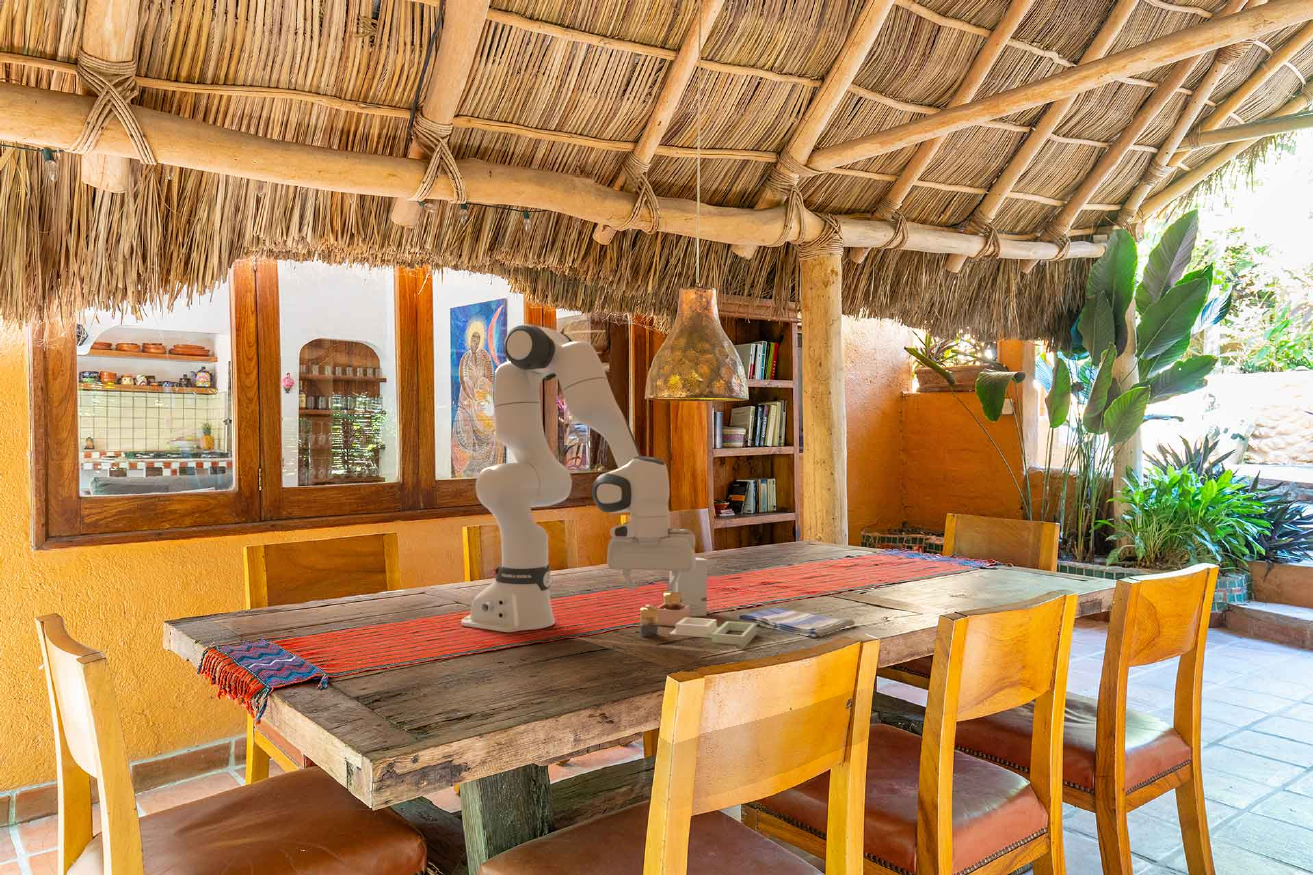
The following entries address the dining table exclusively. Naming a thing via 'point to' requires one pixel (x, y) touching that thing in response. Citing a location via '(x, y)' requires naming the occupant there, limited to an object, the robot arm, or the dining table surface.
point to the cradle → (695, 627)
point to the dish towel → (796, 622)
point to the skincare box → (693, 588)
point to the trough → (739, 640)
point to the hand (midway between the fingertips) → (651, 590)
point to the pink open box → (672, 615)
